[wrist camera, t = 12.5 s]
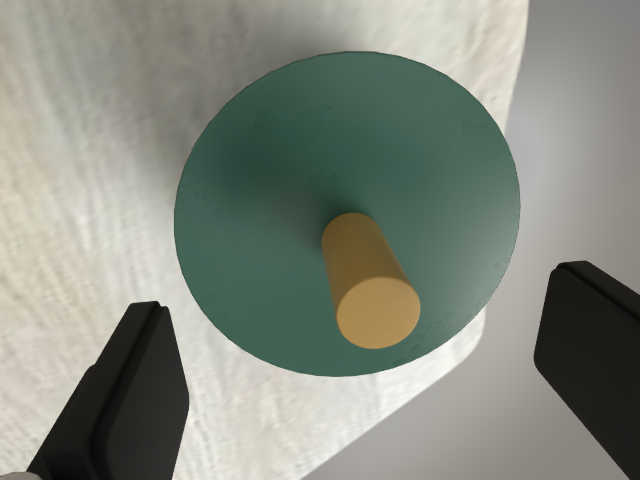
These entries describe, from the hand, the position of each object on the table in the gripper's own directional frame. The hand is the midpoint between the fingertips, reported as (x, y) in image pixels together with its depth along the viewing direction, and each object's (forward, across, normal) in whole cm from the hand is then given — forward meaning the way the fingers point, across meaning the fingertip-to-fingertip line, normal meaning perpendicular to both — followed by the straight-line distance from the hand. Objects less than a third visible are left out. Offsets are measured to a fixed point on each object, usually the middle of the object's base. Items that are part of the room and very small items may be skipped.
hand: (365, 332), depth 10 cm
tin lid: (+7, -1, 0) cm, 7 cm away
